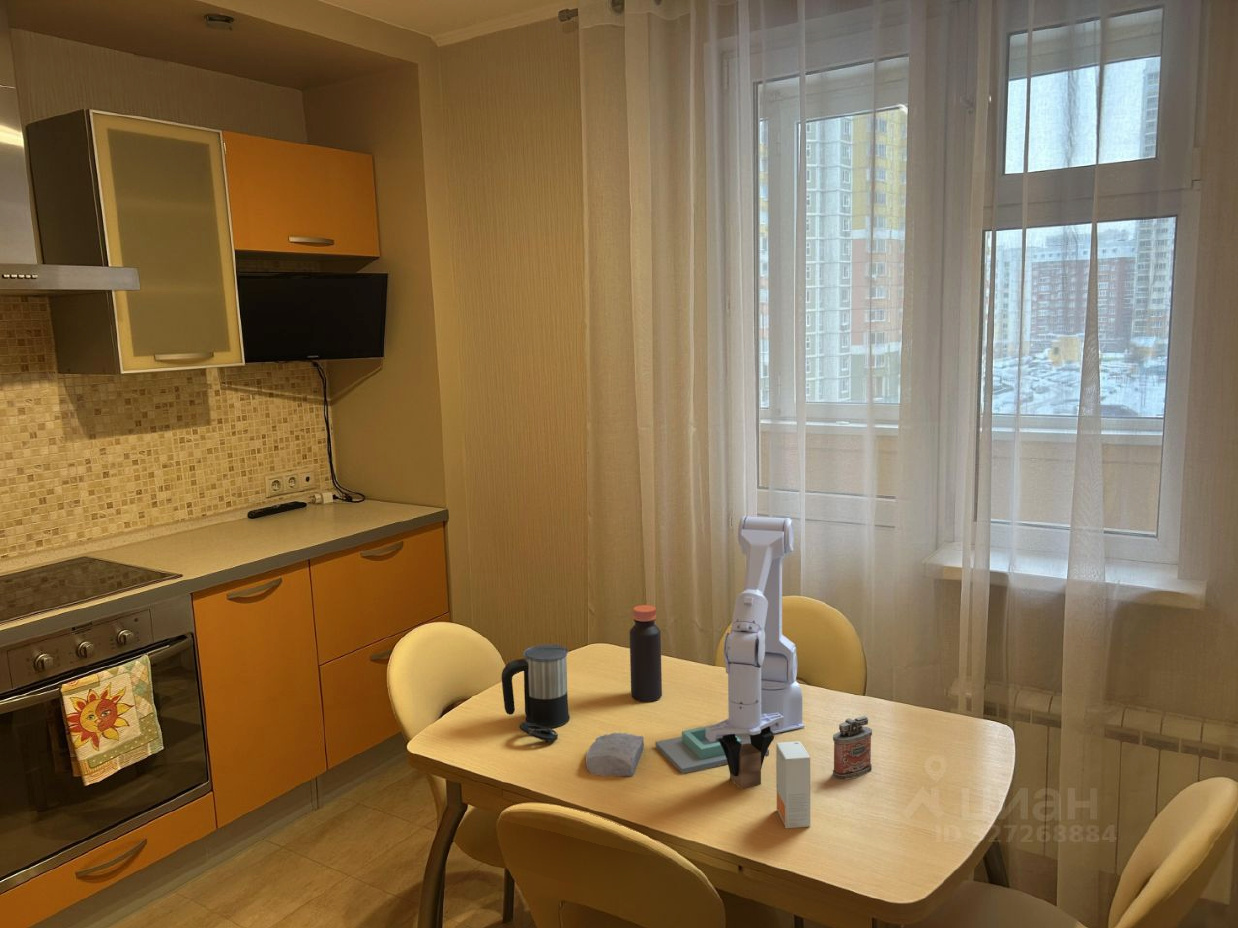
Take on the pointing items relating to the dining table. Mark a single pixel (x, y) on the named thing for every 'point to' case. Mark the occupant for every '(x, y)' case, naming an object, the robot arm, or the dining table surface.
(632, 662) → the bottle
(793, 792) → the skincare box
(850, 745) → the lighter
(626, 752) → the stone block
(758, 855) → the dining table surface
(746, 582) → the robot arm
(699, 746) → the assembly cradle
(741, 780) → the tall brown post
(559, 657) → the milk frother
